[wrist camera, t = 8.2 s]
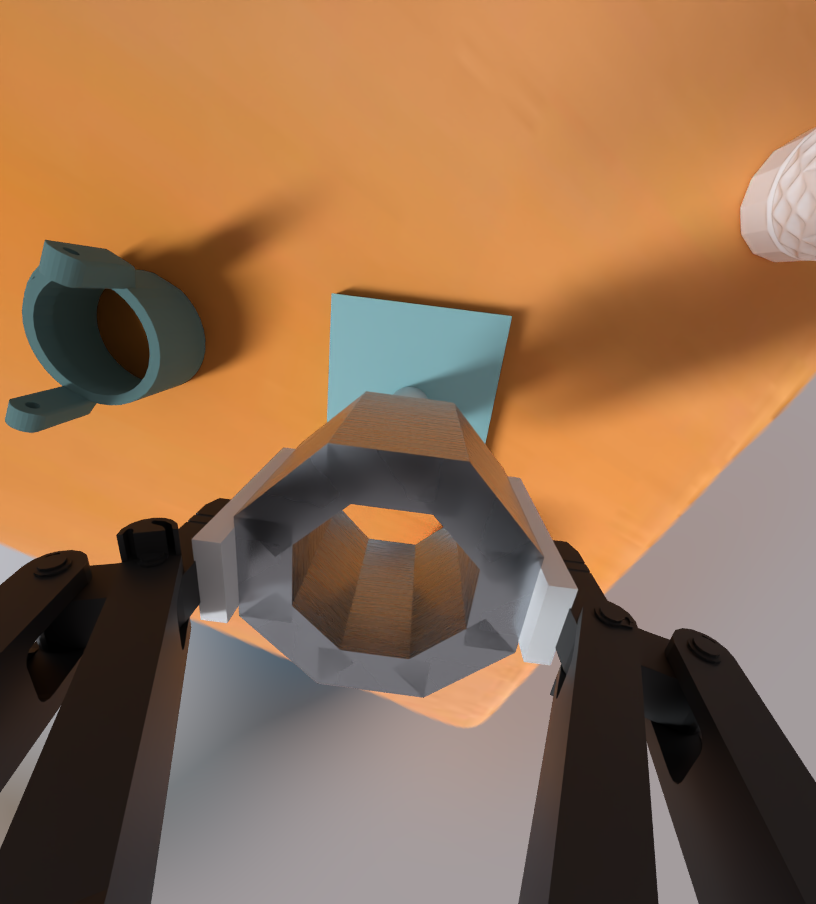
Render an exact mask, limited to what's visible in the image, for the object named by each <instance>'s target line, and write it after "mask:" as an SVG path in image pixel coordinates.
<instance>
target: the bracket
mask: <svg viewBox="0 0 816 904" xmlns="http://www.w3.org/2000/svg"><path fill="white" fill-rule="evenodd" d="M104 289H112V290H114V291H115V292H116V293H118V294H119V295H120V296H121V297H122V298H123V299H124V300H125V301H126V302H127V303H128V304H129V305H130V307H131V308H132V309H133V310H134V311H135V313H136V315H137V316H138V318H139V320H140V321H141V323H142V325H143V328H144V330H145V332H146V335H147V339H148V343H149V352H150V358H149V366H148V369H147V372H146V375H145V376H144V378H143V379H140V378H138V377H136V376H134V375H132V374H131V373H129V372H128V371H126V370H125V369H124V368H123V367H122V366H121V365H119V364H118V363H117V362H116V360H115V359H114V358H113V357H112V356H111V354H110V353H109V351H108V350H107V348H106V347H105V345H104V343H103V340H102V338H101V336H100V332H99V329H98V325H97V305H98V302H99V298H100V296H101V294H102V292H103V291H104ZM22 317H23V325H24V329H25V333H26V336H27V339H28V341H29V344H30V346H31V348H32V350H33V352H34V354H35V356H36V357H37V359H38V360H39V362H40V363H41V364H42V366H43V367H44V369H45V370H46V371H47V372H48V373H49V374H50V375H51V376H52V377H53V378H54V379H55V380H56V381H57V382H58V383H60V384H61V385H62V387H58V388H54V389H50V390H46V391H42V392H37V393H33V394H29V395H25V396H21V397H17V398H13V399H10V400H9V404H8V408H7V413H6V417H5V422H6V423H7V424H8V425H9V426H10V427H12V428H14V429H16V430H19V431H23V432H29V433H34V432H38V431H41V430H44V429H47V428H50V427H53V426H56V425H59V424H61V423H64V422H67V421H70V420H73V419H76V418H79V417H82V416H85V415H88V414H89V413H90V412H91V411H92V409H93V408H94V406H95V405H96V403H99V404H105V405H122V404H126V403H130V402H133V401H136V400H139V399H142V398H145V397H147V396H150V395H153V394H156V393H159V392H162V391H164V390H167V389H170V388H173V387H176V386H178V385H181V384H183V383H185V382H187V381H188V380H190V379H191V378H192V377H193V376H194V375H195V374H196V372H197V371H198V370H199V368H200V366H201V364H202V361H203V359H204V354H205V334H204V329H203V326H202V323H201V319H200V317H199V315H198V313H197V311H196V309H195V307H194V306H193V305H192V303H191V302H190V300H189V299H188V298H187V297H186V295H185V294H184V293H183V292H182V291H181V290H180V289H178V288H177V287H175V286H174V285H172V284H170V283H169V282H167V281H166V280H164V279H163V278H161V277H159V276H158V275H156V274H155V273H152V272H148V271H144V270H136V269H135V268H134V266H133V265H131V264H129V263H128V262H126V261H125V260H123V259H122V258H120V257H118V256H117V255H115V254H114V253H112V252H110V251H109V250H107V249H103V248H96V247H89V246H83V245H76V244H70V243H63V242H56V241H50V240H45V242H44V247H43V251H42V256H41V260H40V265H39V266H38V267H37V268H36V270H35V271H34V272H33V273H32V275H31V277H30V279H29V281H28V282H27V286H26V289H25V293H24V299H23V307H22Z"/></svg>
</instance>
